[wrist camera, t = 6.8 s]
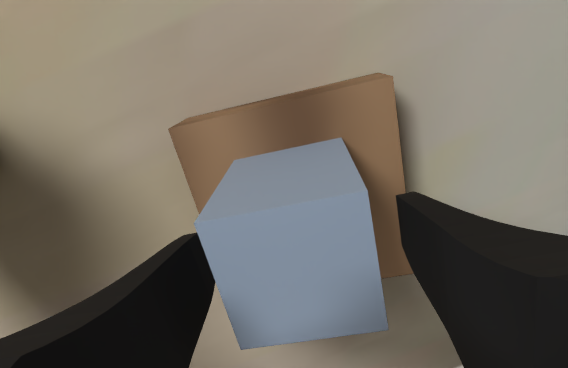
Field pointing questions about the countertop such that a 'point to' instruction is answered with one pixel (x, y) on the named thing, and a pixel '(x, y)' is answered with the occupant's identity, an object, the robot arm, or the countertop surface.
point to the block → (294, 247)
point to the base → (302, 131)
